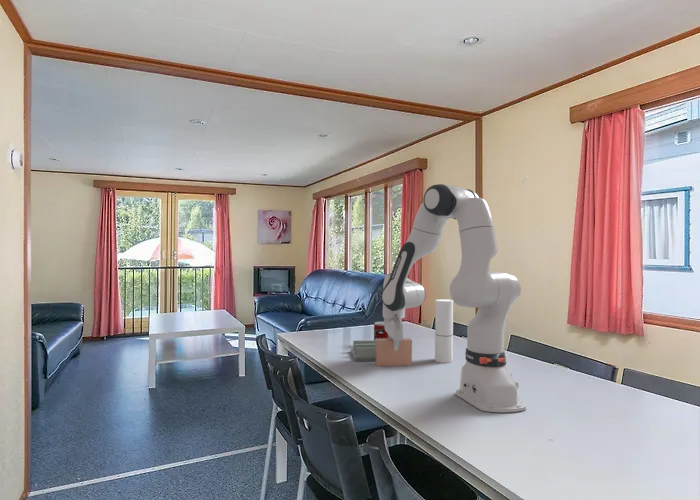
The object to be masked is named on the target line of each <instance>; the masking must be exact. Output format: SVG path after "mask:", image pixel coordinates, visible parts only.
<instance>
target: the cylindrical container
mask: <svg viewBox="0 0 700 500" xmlns="http://www.w3.org/2000/svg"><path fill="white" fill-rule="evenodd" d="M434 312H435V317H434V318H435V322H434V330H435V331H434V333H435V334H434V361H435V362H437V363H443V364H449V363H452V362H453V356H454V355H453V352H454V349H453V346H454V345H453V340H454V301H453V300H452V299H448V298H447V299H444V298H443V299H441V298H440V299H435V311H434Z"/></svg>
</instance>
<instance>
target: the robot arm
mask: <svg viewBox="0 0 700 500" xmlns="http://www.w3.org/2000/svg"><path fill="white" fill-rule="evenodd" d="M490 210H491V209H490V207H489V204H488V203H487V200H485V198H482V197H479V195H478V194H477V192H475V191H473V190H471V189H468V188H463V187H459V186H456V185H449V184H443V183H441V184H439V183H438V184H433V185H431V186H429V187H428V188H426V191H425V192H424V195H423V202H422V203H421V204H420V206H419V207H418V210H417V211H416V215H415V217H414V221H413V224H412V226H411V227H412V228H411V231H410V233H409V236H408V238H407V240H406V242H404V244H403V245H402V246H401V248H400V250H399V252H398V254H397V257H396V260H395V262H394V265H393V268H392V271H391V273H387V274H386V275H385V276H384V280H383V286H382V287H383V288H382V292H381V301H382V311H381V313H382V318H383V322H384V327H385V331H386V332H387V333H388V338H392V339H393V342H394V345H393V350H394V351H398V346H399V341H402V340H403V338H404V323H403V321H402V319H405V318H406V309H412V308H417V307H421V306H422V305H423V304H424V303H425V301H426V291H425V288H424V286H423V285H422V284H421V283H420V282H416V281H413V280H412V279H410V278H408V276H409V274H410V271H411V269H412V267H413V265H414V264H415V263H416V262H417V261H419V260H420V259H422V258H423V257H426V256H427V255H429V254H432V253H433V252H434V251H436V250H437V248H438V247H439V245H440V242H441V240H442V236H443V231H444V227H445V224H446V222H447V221H448V220H450V219H453V220H456V221H457V224H458V233H459V239H460V240H459V241H460V248H461V249H460V250H461V263H460V265H459V270H458V272H457V274H456V275H455V276H454V277H453V279H452V280H451V282H450V285H449V295H450V297H451V300H453V303H454V304H456V305H457V306H460V307H465V308H470V309H473V308H474V309H476V308H478V309H477V311H476V314H475V316H474V317H472V319H471V320H470V321H469V322H468V324H467V327H466V329H467V332H466V333H467V334H466V335H467V336H466V338H467V341H466V343H467V344H466V348H465V353H464V355H465V360H466V361H465V363H464V365H463V366H461V369H460V370H461V371H460V380H459V389H456V390H455V395H456V397H457V396H458V397H459V398H460V399H462V400H463V401H465V402H467V403H468V404H470V405H471V406H473V407H475V408H477V409H478V410H479V411H483V412H488V413H490V412H491V413H516V412H521V411H522V412H523V411H526V410H527V406H526V404H525V403H524V401H522V400H521V398H520V397H519V396H518V389H519V386H520V385H519V384H520V383H519V382H518V380H514V379H513V377H512V373H511V372H510V370H508V367H507V357H506V353H505V350H504V340H505V339H504V338H505V336H504V335H505V326H506V321H507V318H508V316H509V312H510V310H511V308H512V306H513V305H514V304H515V302H516V301H517V300H518V299H519V298H520V295H521V291H522V289H521V288H522V287H521V283H520V281H519V280H518V278H517V277H516V276H515V275H513V274H510V273H506V272H503V271H490V265H491V261H492V258H494V257H495V256H496V255H497V254H498V244H497V238H496V232H495V231H496V230H495V225H494V221H493V216H492V213H491V211H490Z"/></svg>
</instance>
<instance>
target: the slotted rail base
mask: <svg viewBox="0 0 700 500" xmlns="http://www.w3.org/2000/svg"><path fill="white" fill-rule="evenodd" d="M352 344H353V345H352V347H353V348H350V354H351V356H352V359H353V361H354V362H355V363H357V362H358V363H361V362H366V363H367V362H375V345H376V340H374V339H373V340H371V339H369V340H367V339H364V340H363V339H362V340H360V339H359V340H356V339H355V340H352Z"/></svg>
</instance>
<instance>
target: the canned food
mask: <svg viewBox="0 0 700 500" xmlns="http://www.w3.org/2000/svg"><path fill="white" fill-rule="evenodd" d="M385 338H388V333H387V332H386V331H385V327H384V321H375V322H374V323H373V340H376V339H385Z"/></svg>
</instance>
